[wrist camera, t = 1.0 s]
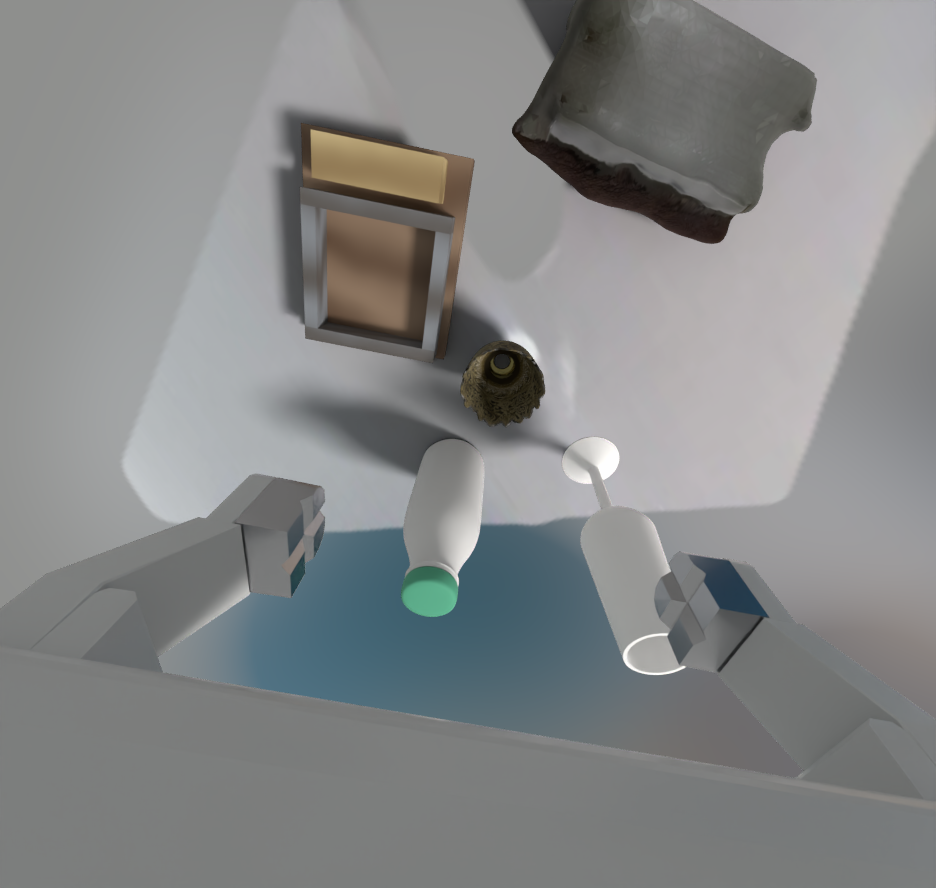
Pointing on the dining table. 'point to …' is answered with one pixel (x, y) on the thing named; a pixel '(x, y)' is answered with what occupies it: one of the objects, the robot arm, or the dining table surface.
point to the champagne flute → (623, 562)
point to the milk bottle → (442, 525)
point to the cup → (502, 384)
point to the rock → (665, 112)
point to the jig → (380, 242)
